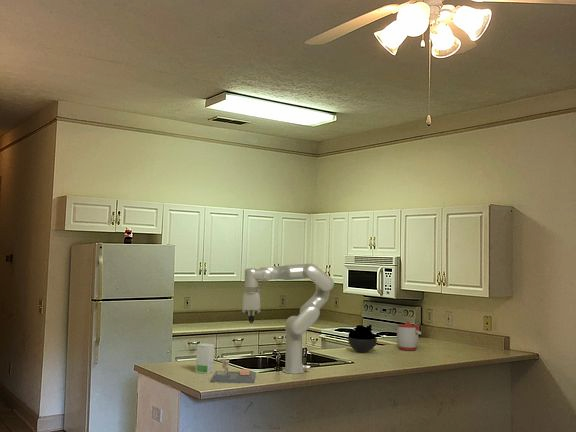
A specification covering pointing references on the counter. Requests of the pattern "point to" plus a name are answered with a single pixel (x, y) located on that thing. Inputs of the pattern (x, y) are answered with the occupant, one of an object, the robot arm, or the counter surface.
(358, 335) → the bowl of black rocks
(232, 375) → the switch panel
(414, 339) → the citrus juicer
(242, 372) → the terracotta button
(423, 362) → the counter surface
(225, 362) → the birch paddle
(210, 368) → the skincare box
